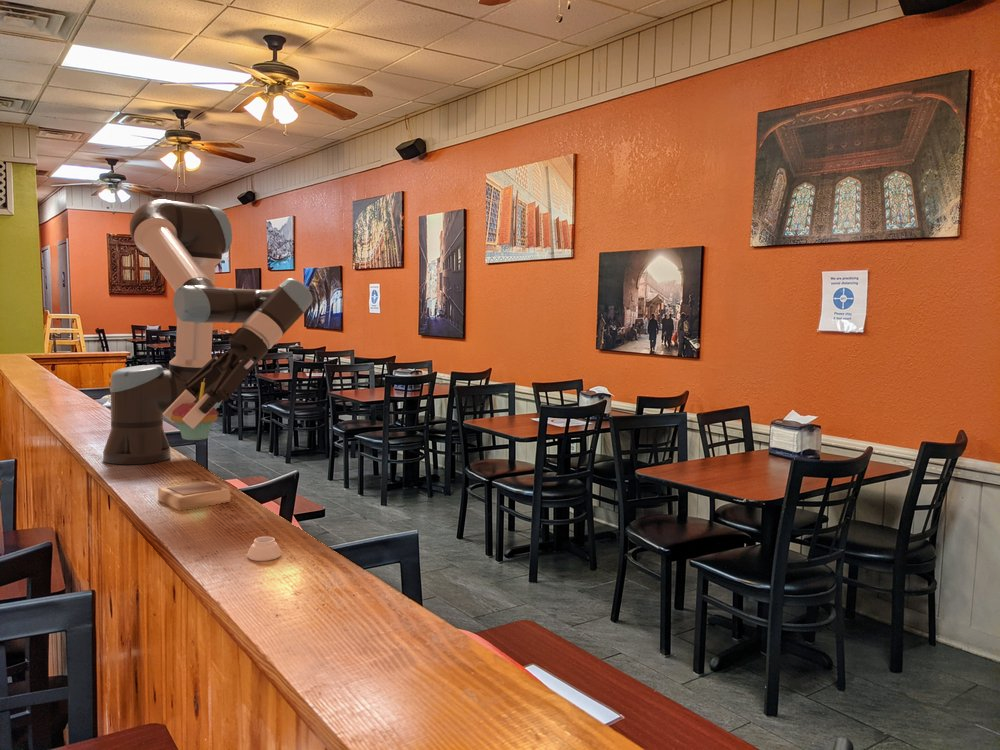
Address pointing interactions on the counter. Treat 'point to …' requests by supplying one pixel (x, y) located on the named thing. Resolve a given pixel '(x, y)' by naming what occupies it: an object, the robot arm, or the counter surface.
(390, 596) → the counter surface
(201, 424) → the cupcake
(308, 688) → the counter surface
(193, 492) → the square tray
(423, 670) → the counter surface
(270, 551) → the lidless jar
